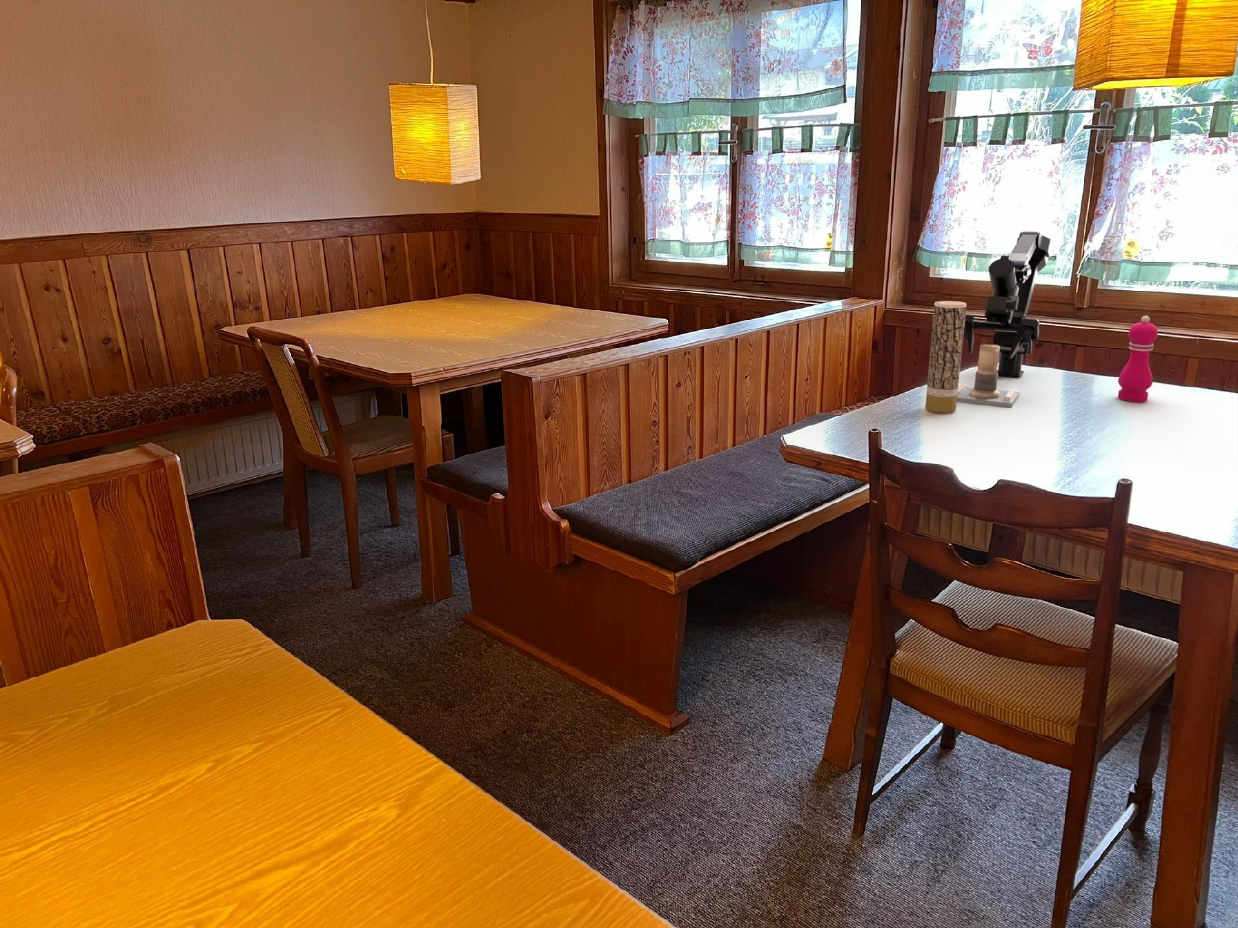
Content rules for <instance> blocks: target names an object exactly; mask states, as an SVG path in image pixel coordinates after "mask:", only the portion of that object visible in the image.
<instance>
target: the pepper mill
mask: <svg viewBox="0 0 1238 928" xmlns="http://www.w3.org/2000/svg"><path fill="white" fill-rule="evenodd" d="M1150 320H1151V318H1150V317H1149V316H1148V315H1143V316H1142V317H1141V318H1140V321H1139V322H1137V323H1134V324H1133V325H1131V327H1130V328H1129V330H1128V338H1129V339H1130V342H1129V344H1128V345H1129V346H1128V349H1129V350H1130V352H1129V353H1130V354H1129V359H1128V362H1127V363H1126V364H1125V366H1124V368H1123V369H1122V370H1121V372H1120V374H1119V376H1118V381H1117V383H1118V385H1119V386H1120V388H1121V389H1119V390H1118V392H1117V393H1118V394H1117V399H1119V400H1121V401H1125V402H1135V403H1142V402H1146V400H1148V398H1149V392H1148V389H1150V388H1151V387H1152V386H1153V379H1154V378H1153V373H1152V371H1151V368H1150V362H1149V360H1150V358H1149V357H1150V353H1151V351H1153V350H1154V343H1153V342H1155V340H1156V339H1157V338H1158V334H1159V330H1158V328H1157V326H1156V325H1155V324H1153V323H1151V322H1150Z"/></svg>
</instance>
